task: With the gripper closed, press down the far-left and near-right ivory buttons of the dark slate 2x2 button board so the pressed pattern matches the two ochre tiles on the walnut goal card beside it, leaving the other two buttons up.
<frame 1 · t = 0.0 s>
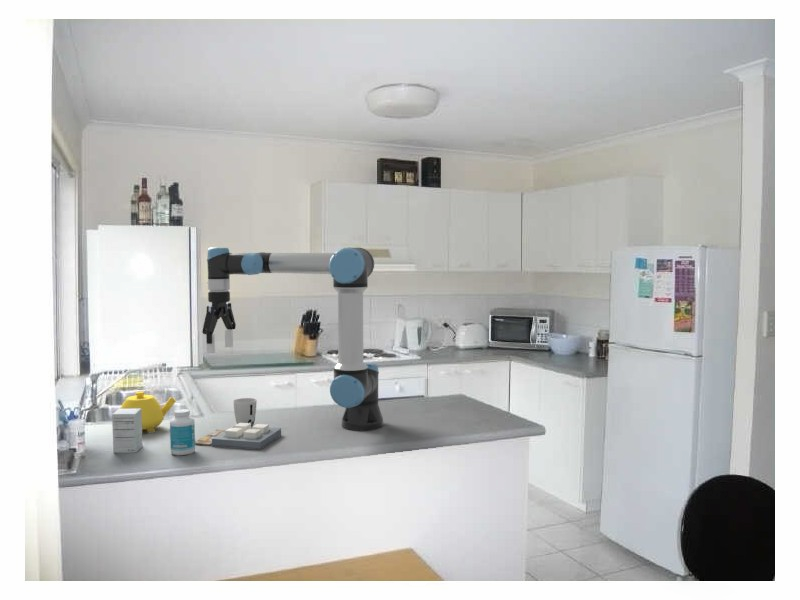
hand: (220, 349, 249), 28 cm above the counter, fingers open, 13 cm apart
pill bottle: (183, 453, 220), on the counter
teapot: (147, 430, 248), on the counter
button near right: (260, 429, 235), point 3 cm above the counter, slide at 0.0 cm
button board: (247, 440, 233), on the counter
button far left: (233, 433, 231), point 3 cm above the counter, slide at 0.0 cm
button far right: (242, 428, 237), point 3 cm above the counter, slide at 0.0 cm
cup: (245, 428, 250), on the counter
button near left: (252, 434, 229), point 3 cm above the counter, slide at 0.0 cm
supplement box: (128, 450, 223), on the counter
goal card: (213, 438, 236), on the counter
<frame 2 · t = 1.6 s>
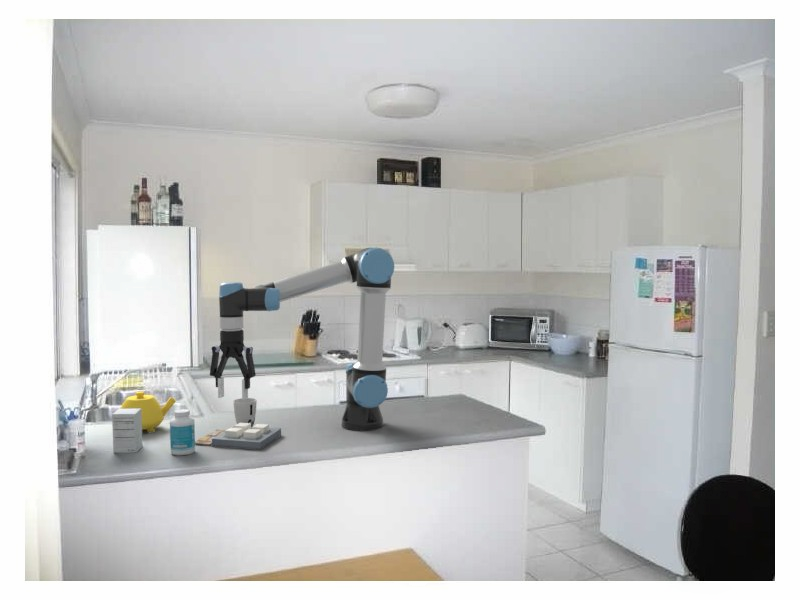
hand: (233, 397, 230), 15 cm above the counter, fingers open, 8 cm apart
nothing on the counter moved.
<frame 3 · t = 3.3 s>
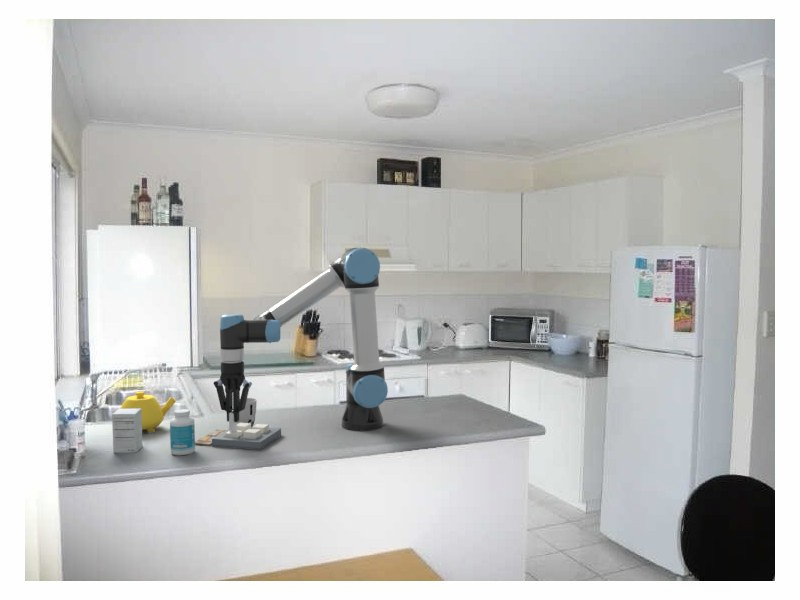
hand: (233, 431, 230), 4 cm above the counter, fingers closed
button far left: (233, 435, 231), point 2 cm above the counter, slide at -0.8 cm, touching gripper
everything else where it was.
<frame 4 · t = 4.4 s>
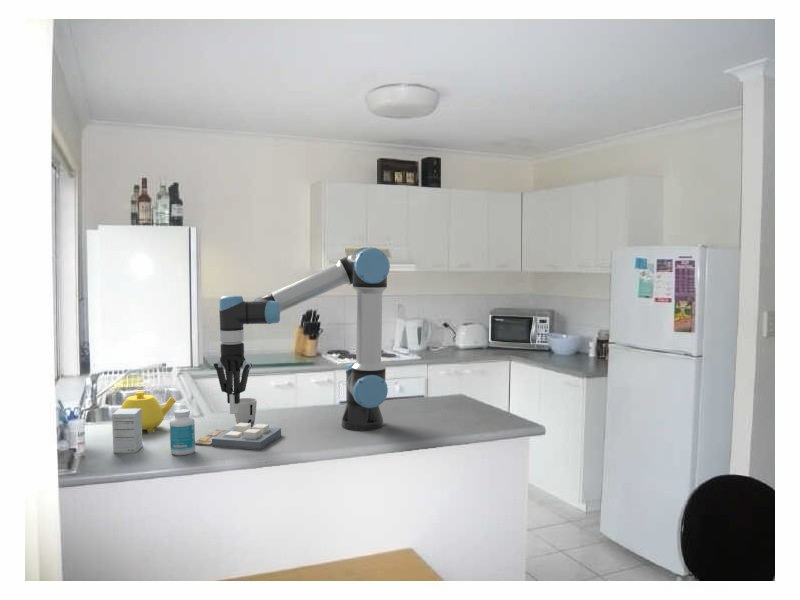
hand: (233, 413, 230), 10 cm above the counter, fingers closed
button far left: (233, 436, 231), point 2 cm above the counter, slide at -1.2 cm
everything else where it was.
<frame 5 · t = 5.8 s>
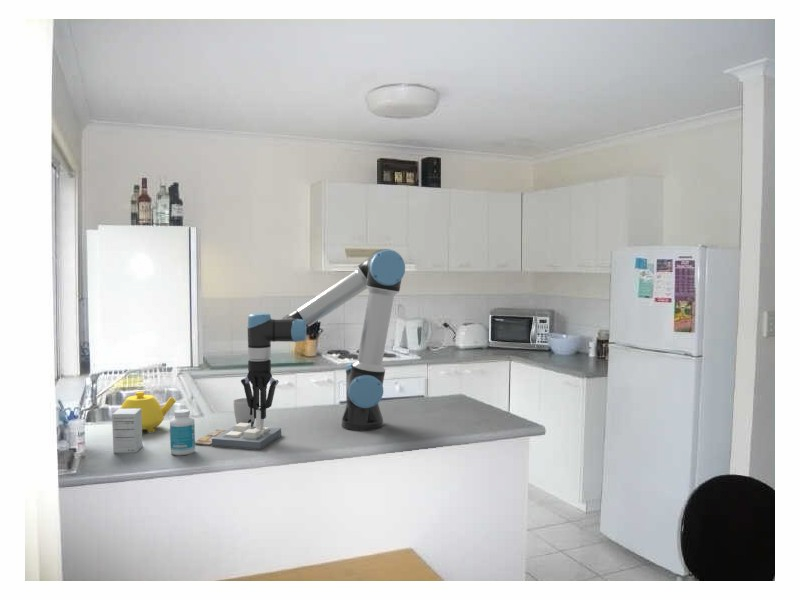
hand: (260, 428, 235), 4 cm above the counter, fingers closed
button near right: (260, 432, 236), point 2 cm above the counter, slide at -1.0 cm, touching gripper
everything else where it was.
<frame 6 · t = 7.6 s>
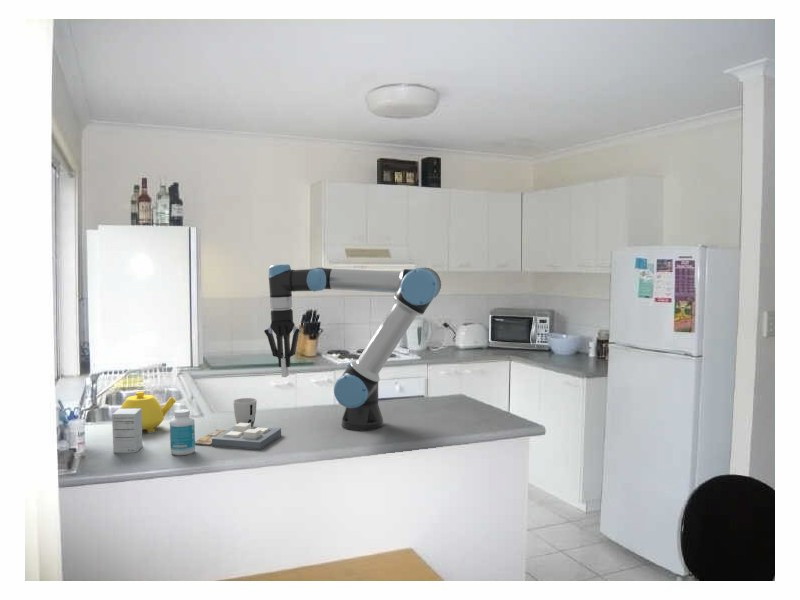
hand: (285, 376, 242), 20 cm above the counter, fingers closed
button near right: (260, 433, 236), point 2 cm above the counter, slide at -1.2 cm
everything else where it was.
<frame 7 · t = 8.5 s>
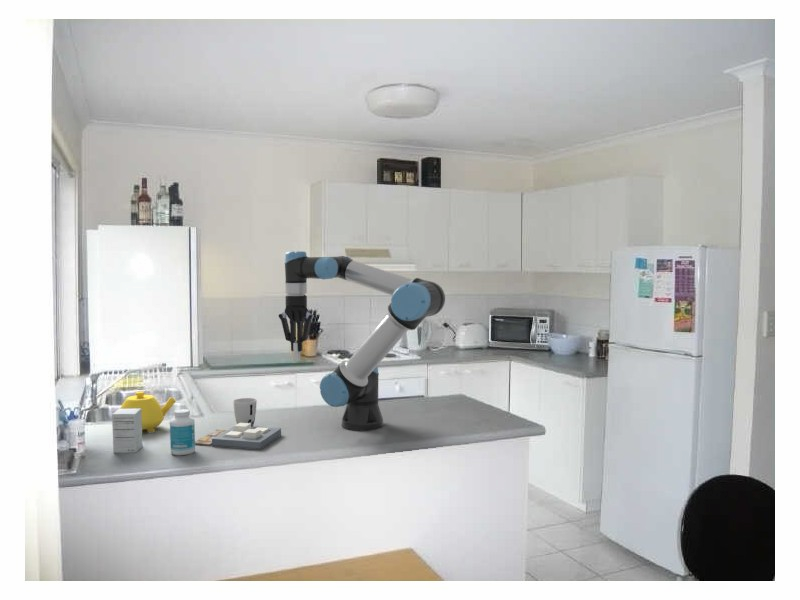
hand: (296, 360, 248), 24 cm above the counter, fingers closed
nothing on the counter moved.
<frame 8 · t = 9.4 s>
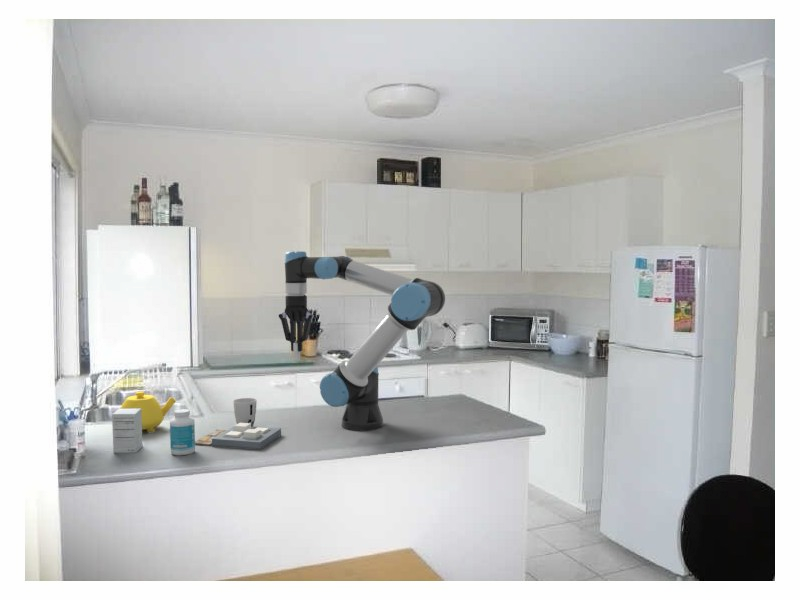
hand: (296, 360, 248), 24 cm above the counter, fingers closed
nothing on the counter moved.
at the end: button far left slide at -1.2 cm; button near right slide at -1.2 cm; button near left slide at 0.0 cm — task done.
